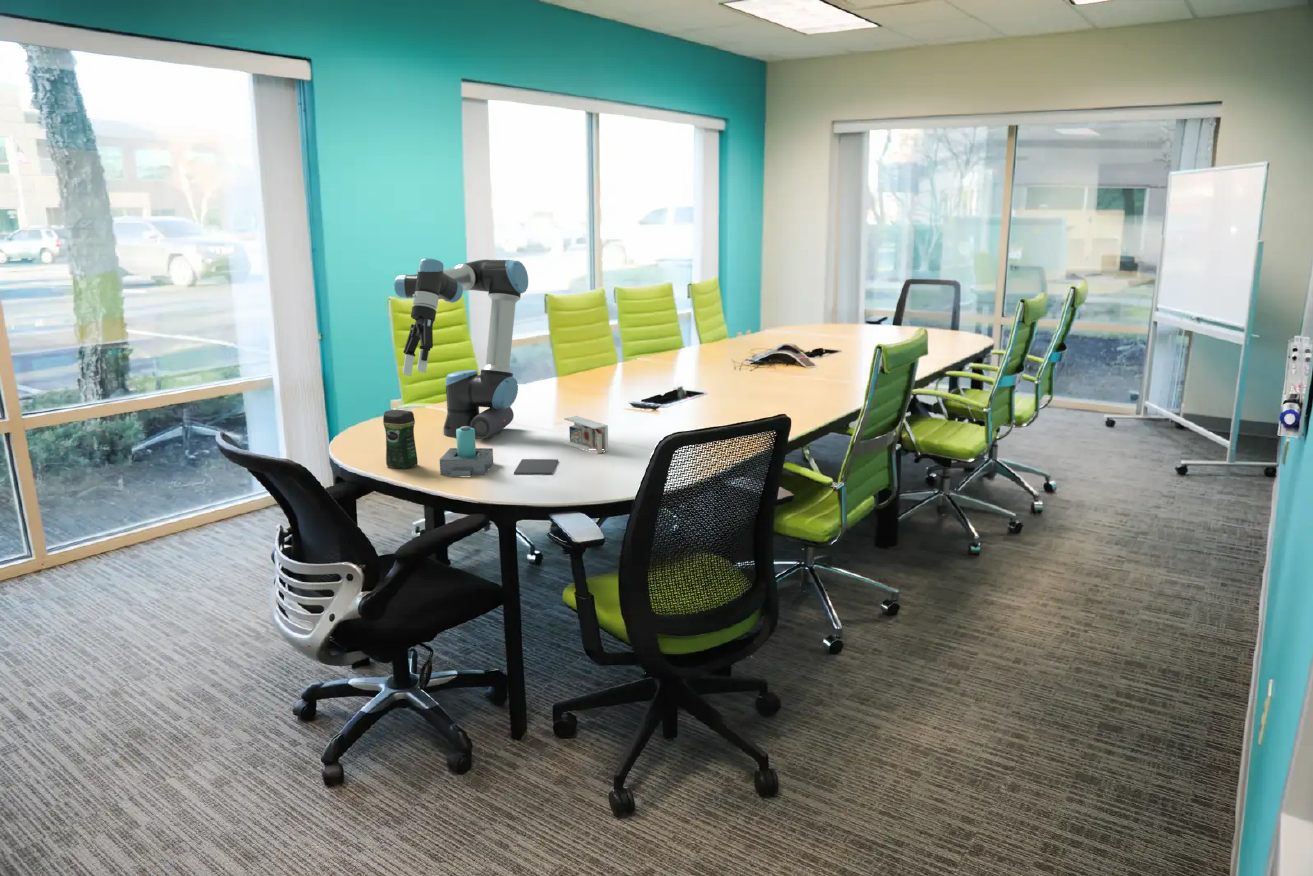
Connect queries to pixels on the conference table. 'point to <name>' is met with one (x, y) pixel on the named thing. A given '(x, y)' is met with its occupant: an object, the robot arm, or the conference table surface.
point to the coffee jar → (400, 439)
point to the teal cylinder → (466, 442)
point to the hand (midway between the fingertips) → (413, 373)
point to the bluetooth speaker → (491, 422)
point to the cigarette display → (588, 434)
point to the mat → (536, 466)
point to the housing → (466, 463)
